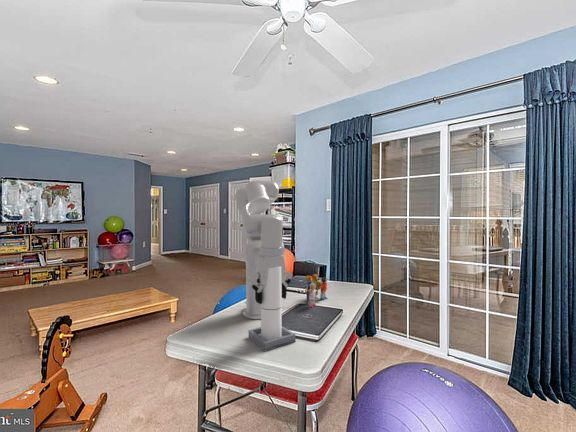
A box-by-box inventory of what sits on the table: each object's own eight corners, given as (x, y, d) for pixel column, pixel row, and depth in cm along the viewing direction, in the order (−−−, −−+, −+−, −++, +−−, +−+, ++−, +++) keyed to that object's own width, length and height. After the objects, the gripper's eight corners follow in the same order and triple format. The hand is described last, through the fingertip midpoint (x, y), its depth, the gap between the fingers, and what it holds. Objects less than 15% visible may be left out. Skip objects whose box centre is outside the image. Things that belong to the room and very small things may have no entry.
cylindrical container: (281, 332, 108) (281, 264, 107) (281, 341, 101) (281, 268, 100) (261, 332, 108) (261, 264, 107) (260, 341, 100) (260, 268, 100)
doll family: (312, 310, 133) (312, 281, 132) (293, 306, 138) (293, 278, 137) (329, 297, 151) (329, 271, 151) (312, 294, 156) (312, 269, 156)
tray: (248, 337, 106) (248, 330, 106) (277, 329, 112) (277, 322, 112) (264, 351, 96) (264, 343, 96) (295, 341, 102) (295, 334, 102)
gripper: (286, 248, 111) (286, 293, 112) (244, 252, 101) (244, 301, 102) (298, 251, 105) (297, 298, 106) (254, 256, 95) (254, 308, 96)
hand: (271, 300), depth 104 cm, fingers open, 9 cm apart
